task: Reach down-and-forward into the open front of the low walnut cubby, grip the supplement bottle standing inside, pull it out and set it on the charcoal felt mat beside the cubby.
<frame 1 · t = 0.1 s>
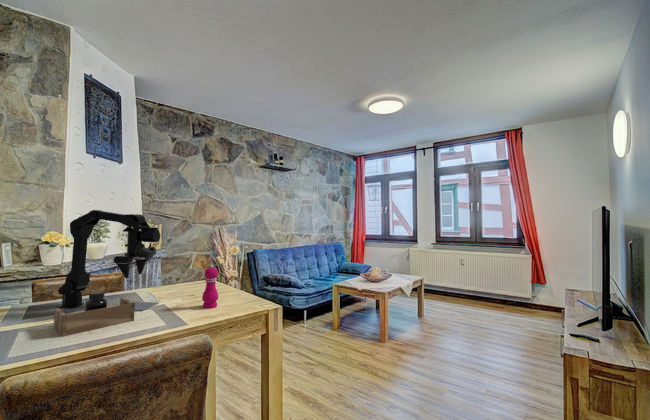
hand: (133, 276, 137), 15 cm above the table, tool pointing down, fingers open, 9 cm apart
cubby: (95, 323, 117), on the table
pepper mill: (209, 307, 143), on the table
supplement bottle: (95, 324, 117), resting in cubby
felt mat: (138, 306, 140), on the table
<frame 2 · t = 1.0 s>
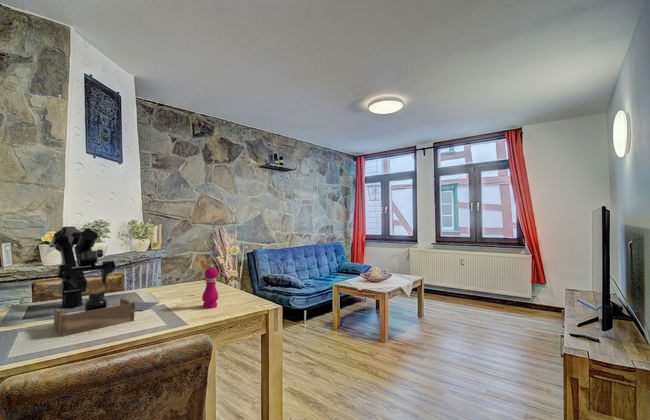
hand: (91, 285, 123), 13 cm above the table, tool tilted 45°, fingers open, 9 cm apart
nothing on the table moved.
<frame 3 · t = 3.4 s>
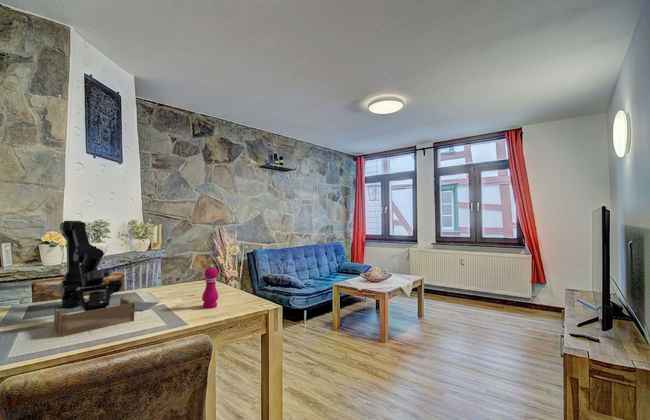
hand: (97, 307, 117), 7 cm above the table, tool tilted 45°, fingers closed on supplement bottle, 7 cm apart
supplement bottle: (95, 324, 117), resting in cubby, touching gripper
everything else where it was.
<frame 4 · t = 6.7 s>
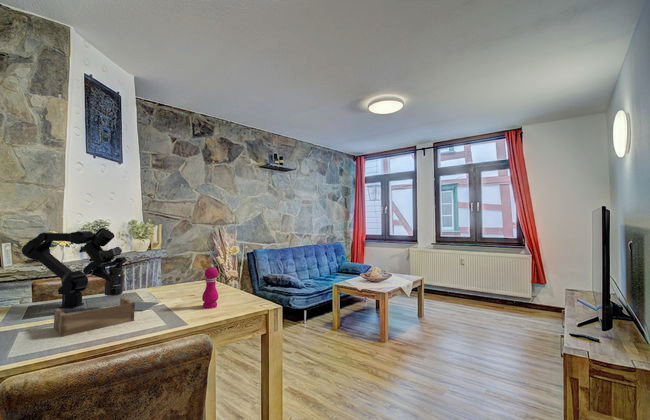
hand: (117, 279, 136), 13 cm above the table, tool tilted 45°, fingers closed on supplement bottle, 7 cm apart
supplement bottle: (113, 294, 136), point 6 cm above the table, touching gripper
everything else where it was.
when the fingers open (8 cm above the table, at t = 9.6 s): supplement bottle stays where it is, resting on felt mat.
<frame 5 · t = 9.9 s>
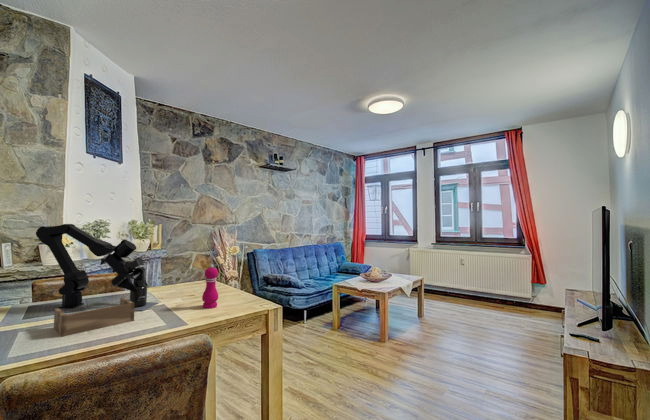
hand: (142, 288, 141), 8 cm above the table, tool tilted 45°, fingers open, 9 cm apart
supplement bottle: (137, 306, 140), resting on felt mat
everything else where it was.
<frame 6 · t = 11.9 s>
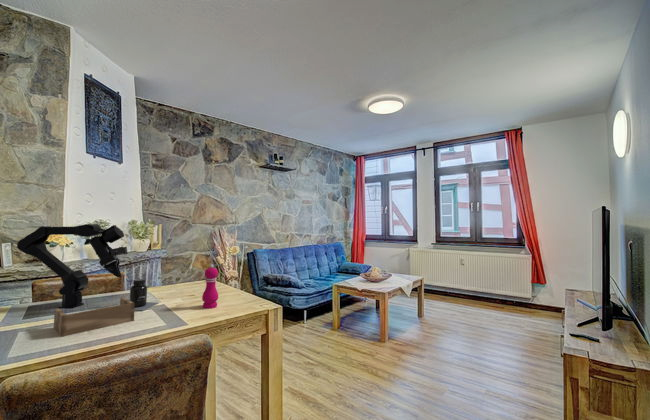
hand: (119, 277, 142), 13 cm above the table, tool tilted 30°, fingers open, 9 cm apart
nothing on the table moved.
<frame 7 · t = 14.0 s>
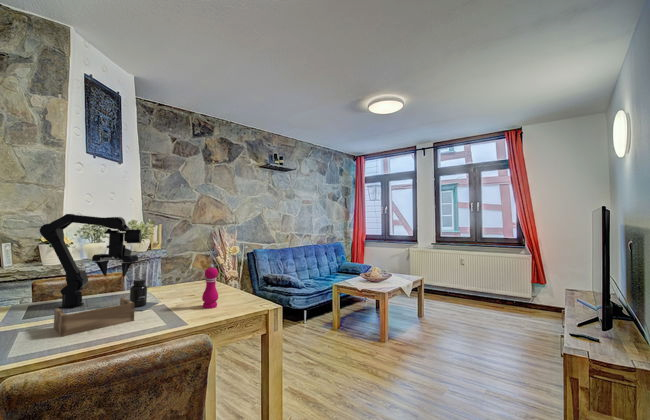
hand: (114, 276, 144), 13 cm above the table, tool pointing down, fingers open, 9 cm apart
nothing on the table moved.
at the end: supplement bottle 0.1 cm from the felt mat (horizontally); supplement bottle tilted 0°; the gripper is holding nothing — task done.
